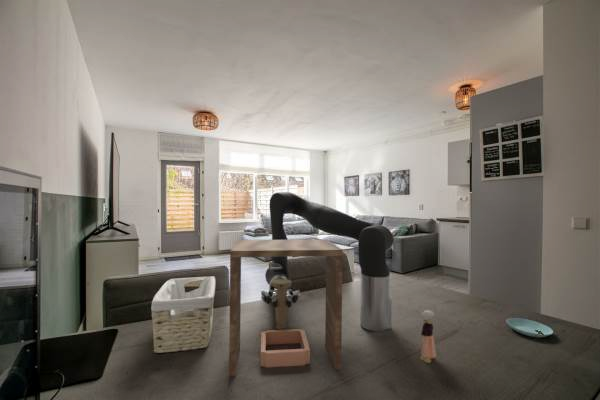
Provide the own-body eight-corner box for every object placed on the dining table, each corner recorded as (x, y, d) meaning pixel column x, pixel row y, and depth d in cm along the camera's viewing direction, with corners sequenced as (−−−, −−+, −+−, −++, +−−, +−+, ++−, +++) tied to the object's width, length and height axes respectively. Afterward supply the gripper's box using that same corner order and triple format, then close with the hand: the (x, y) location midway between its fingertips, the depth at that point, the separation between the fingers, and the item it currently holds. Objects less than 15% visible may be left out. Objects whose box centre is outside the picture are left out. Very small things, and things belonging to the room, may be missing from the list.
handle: (290, 331, 90) (291, 283, 90) (270, 330, 90) (270, 283, 90) (291, 324, 95) (292, 279, 95) (272, 324, 95) (272, 279, 95)
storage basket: (166, 320, 98) (167, 277, 98) (216, 316, 102) (216, 274, 102) (148, 358, 75) (148, 301, 75) (213, 350, 79) (213, 297, 79)
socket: (303, 340, 85) (303, 328, 85) (310, 364, 72) (310, 350, 72) (261, 342, 83) (261, 330, 83) (260, 367, 71) (260, 353, 71)
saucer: (553, 332, 92) (553, 325, 92) (552, 345, 84) (552, 338, 84) (508, 321, 101) (508, 315, 100) (503, 332, 92) (503, 325, 92)
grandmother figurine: (433, 366, 72) (434, 316, 72) (417, 362, 74) (418, 313, 74) (437, 353, 79) (438, 307, 79) (422, 349, 81) (423, 304, 81)
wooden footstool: (326, 335, 88) (327, 239, 88) (341, 369, 71) (342, 249, 70) (236, 339, 85) (237, 240, 85) (229, 376, 67) (230, 250, 67)
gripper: (260, 277, 106) (259, 293, 89) (298, 276, 108) (304, 291, 91) (260, 298, 106) (259, 317, 89) (298, 296, 108) (304, 315, 91)
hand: (282, 304), depth 90 cm, fingers closed on handle, 3 cm apart
